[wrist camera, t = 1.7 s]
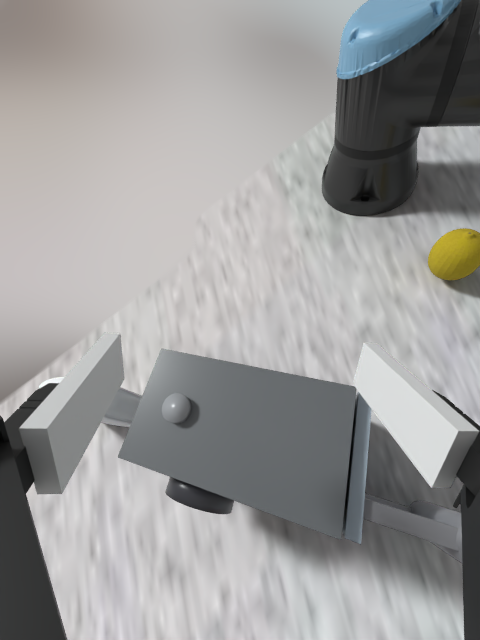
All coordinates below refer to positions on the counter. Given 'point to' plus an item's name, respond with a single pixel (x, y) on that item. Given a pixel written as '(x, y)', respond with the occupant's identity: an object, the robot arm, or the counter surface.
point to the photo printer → (115, 406)
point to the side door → (413, 520)
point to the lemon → (455, 254)
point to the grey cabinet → (246, 439)
